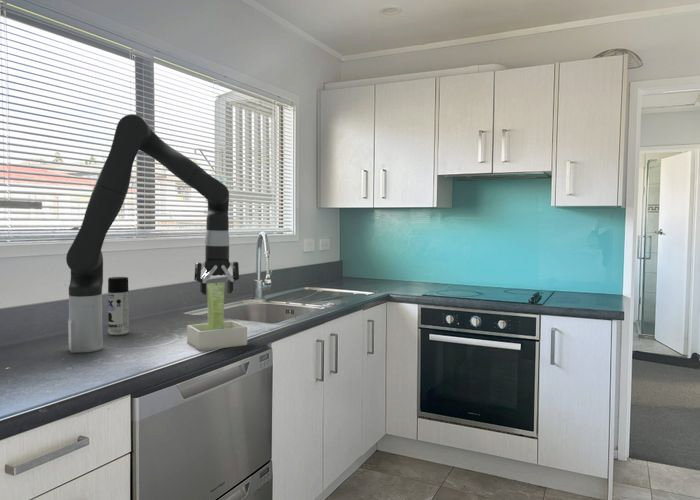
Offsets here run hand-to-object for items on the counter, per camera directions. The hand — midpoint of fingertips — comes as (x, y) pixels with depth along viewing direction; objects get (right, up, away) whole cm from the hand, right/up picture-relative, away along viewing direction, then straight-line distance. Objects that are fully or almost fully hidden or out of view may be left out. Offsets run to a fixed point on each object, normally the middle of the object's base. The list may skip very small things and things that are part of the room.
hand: (216, 293), depth 173 cm
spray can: (-39, -16, +15) cm, 44 cm away
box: (0, -17, +1) cm, 17 cm away
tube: (0, -16, +1) cm, 16 cm away
